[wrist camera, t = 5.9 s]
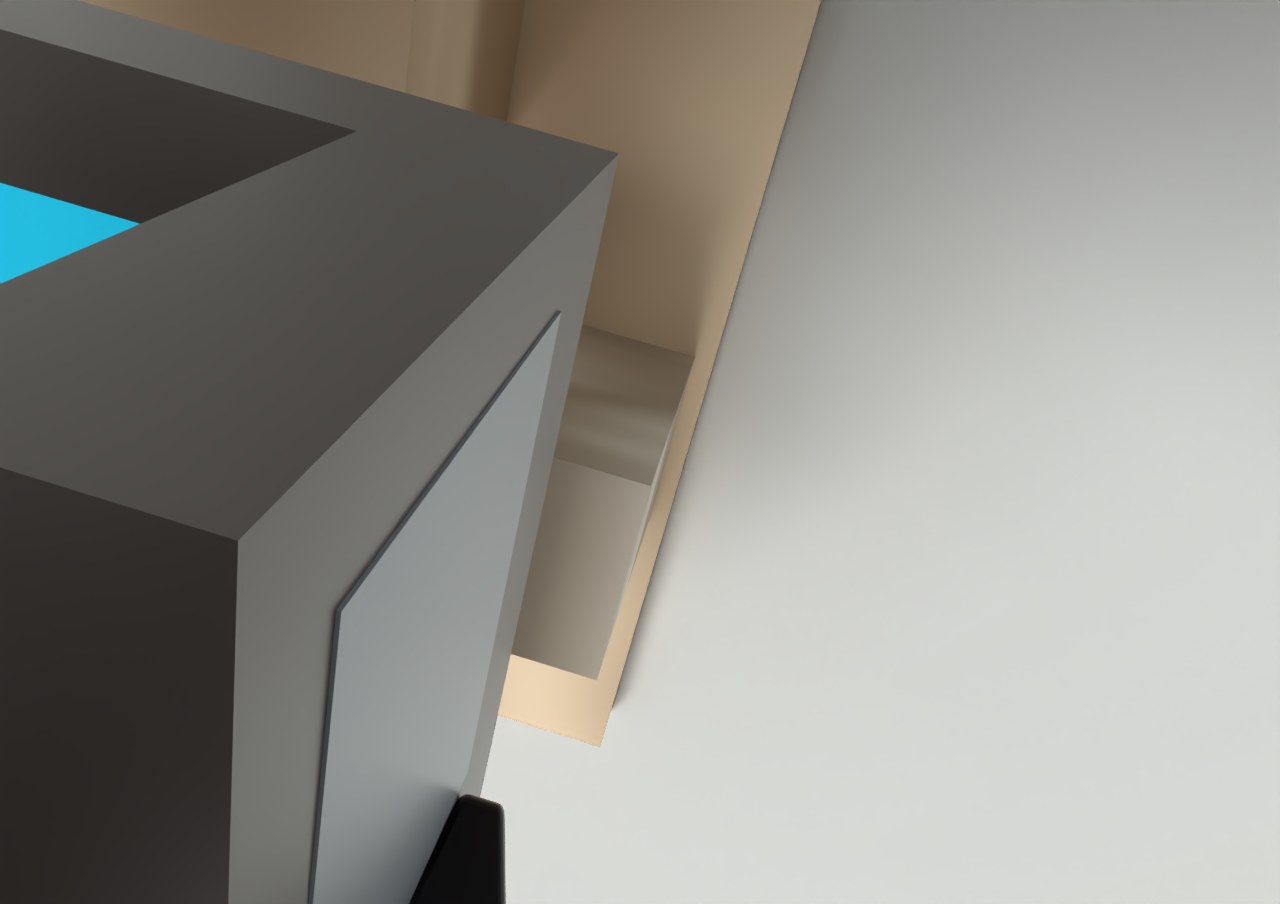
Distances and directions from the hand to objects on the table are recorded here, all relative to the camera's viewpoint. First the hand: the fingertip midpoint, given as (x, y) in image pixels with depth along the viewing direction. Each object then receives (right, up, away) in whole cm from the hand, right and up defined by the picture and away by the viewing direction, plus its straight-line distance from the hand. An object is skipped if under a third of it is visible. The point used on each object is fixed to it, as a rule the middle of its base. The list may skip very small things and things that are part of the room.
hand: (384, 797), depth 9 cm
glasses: (-3, +1, +1) cm, 4 cm away
